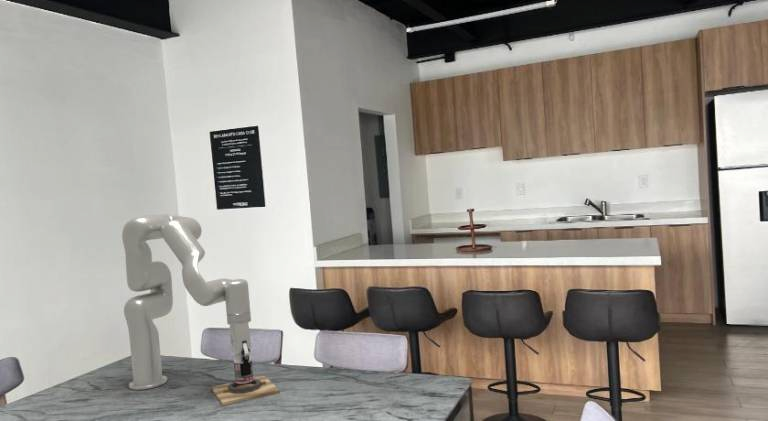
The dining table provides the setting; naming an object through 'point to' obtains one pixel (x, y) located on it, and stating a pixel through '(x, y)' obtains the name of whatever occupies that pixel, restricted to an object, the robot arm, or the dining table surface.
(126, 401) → the dining table surface
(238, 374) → the pill bottle
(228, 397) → the socket board
